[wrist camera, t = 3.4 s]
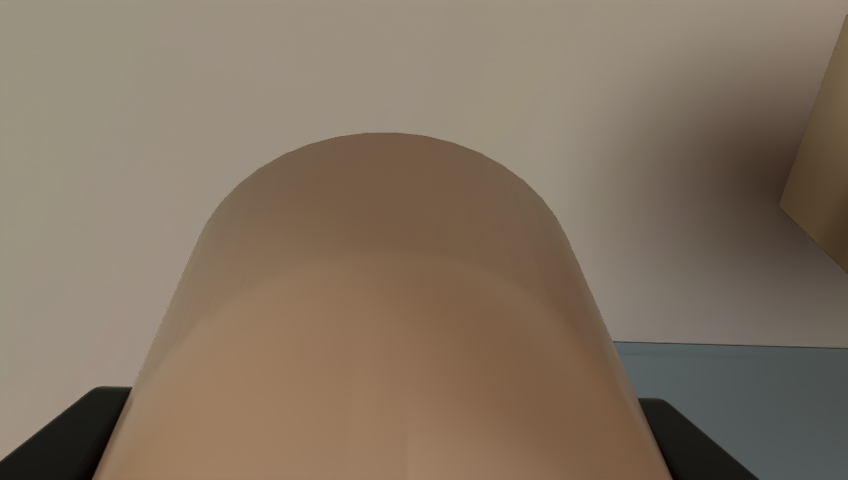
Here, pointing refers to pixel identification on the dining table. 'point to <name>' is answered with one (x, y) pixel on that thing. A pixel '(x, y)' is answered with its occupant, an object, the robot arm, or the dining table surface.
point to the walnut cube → (824, 163)
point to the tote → (755, 402)
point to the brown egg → (382, 333)
